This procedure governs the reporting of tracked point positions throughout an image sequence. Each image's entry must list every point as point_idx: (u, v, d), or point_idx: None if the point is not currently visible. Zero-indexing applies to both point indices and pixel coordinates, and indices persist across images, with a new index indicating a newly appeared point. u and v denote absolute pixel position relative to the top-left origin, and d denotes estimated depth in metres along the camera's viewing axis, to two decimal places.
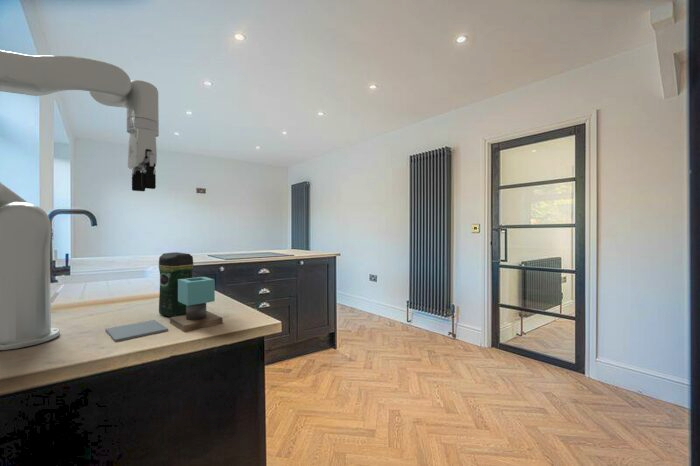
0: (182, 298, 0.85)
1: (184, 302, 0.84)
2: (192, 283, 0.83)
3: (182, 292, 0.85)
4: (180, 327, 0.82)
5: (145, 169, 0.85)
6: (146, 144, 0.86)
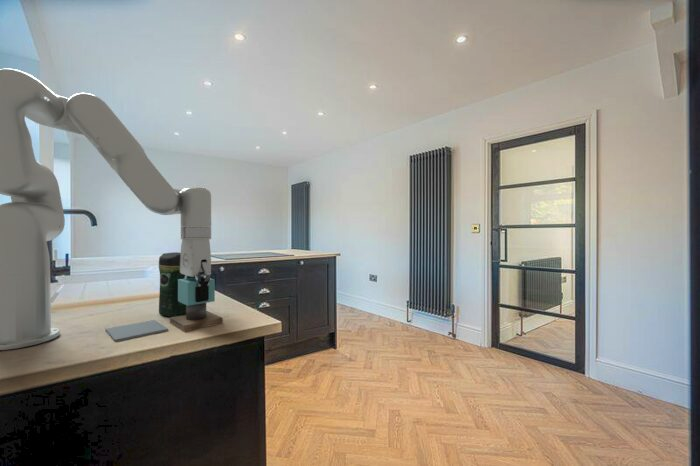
0: (182, 298, 0.85)
1: (184, 302, 0.84)
2: (192, 283, 0.83)
3: (182, 292, 0.85)
4: (180, 327, 0.82)
5: (200, 284, 0.83)
6: (202, 254, 0.83)
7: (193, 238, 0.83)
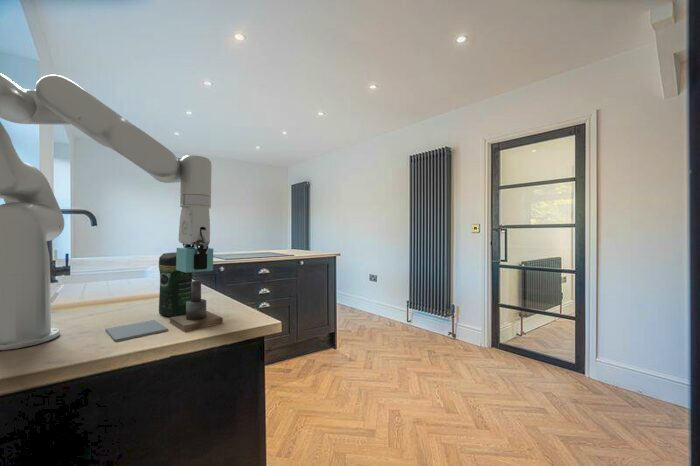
0: (180, 266, 0.84)
1: (182, 269, 0.83)
2: (191, 250, 0.83)
3: (180, 260, 0.84)
4: (180, 327, 0.82)
5: (198, 251, 0.83)
6: (201, 222, 0.83)
7: (192, 205, 0.83)
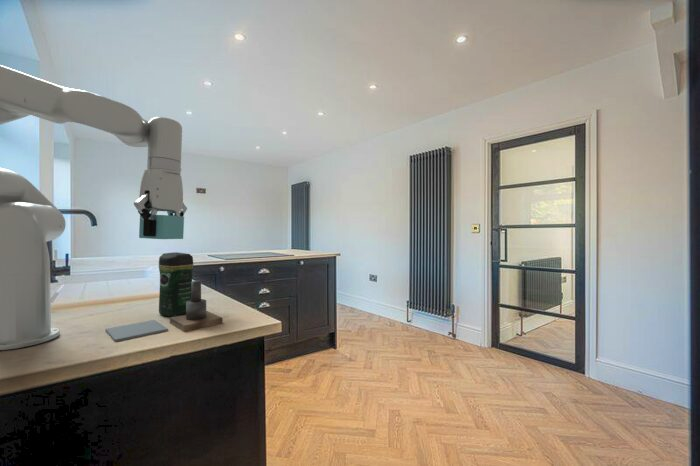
0: None
1: None
2: None
3: None
4: (180, 327, 0.82)
5: None
6: (145, 185, 0.78)
7: (147, 169, 0.80)
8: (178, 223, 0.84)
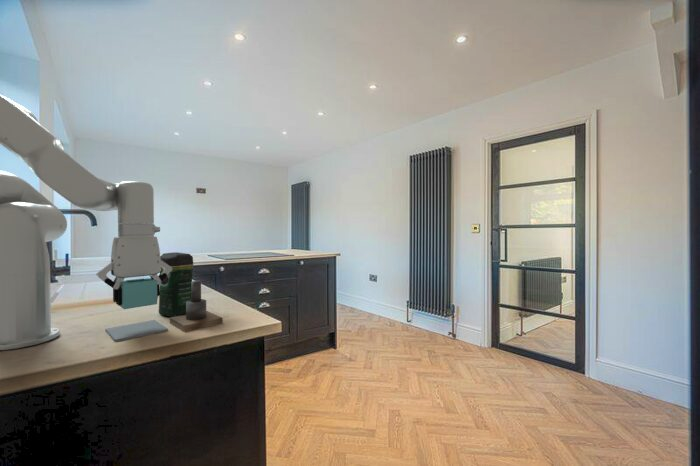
0: None
1: None
2: None
3: None
4: (180, 327, 0.82)
5: None
6: (112, 253, 0.77)
7: None
8: (148, 289, 0.79)
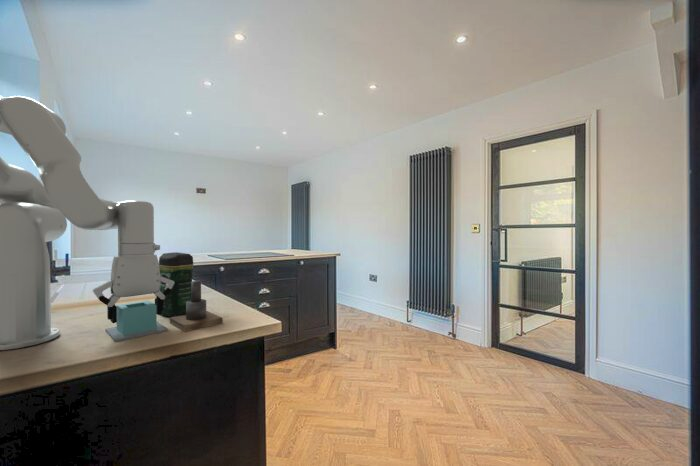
0: None
1: None
2: (117, 307, 0.79)
3: None
4: (180, 327, 0.82)
5: None
6: (111, 273, 0.77)
7: None
8: (147, 314, 0.79)
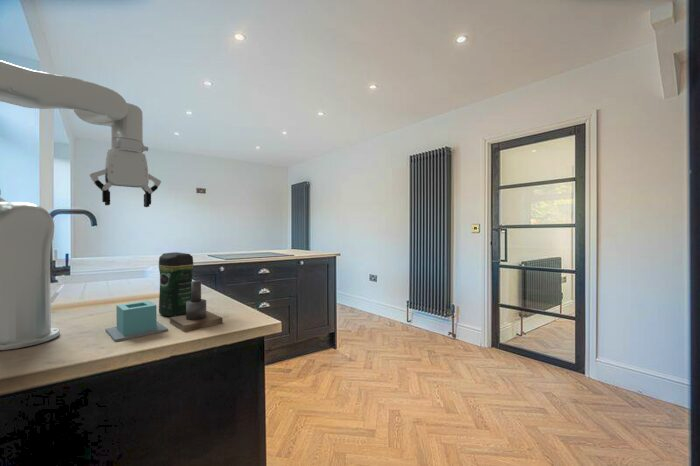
0: None
1: None
2: (117, 307, 0.79)
3: None
4: (180, 327, 0.82)
5: None
6: (106, 163, 0.90)
7: None
8: (147, 314, 0.79)
